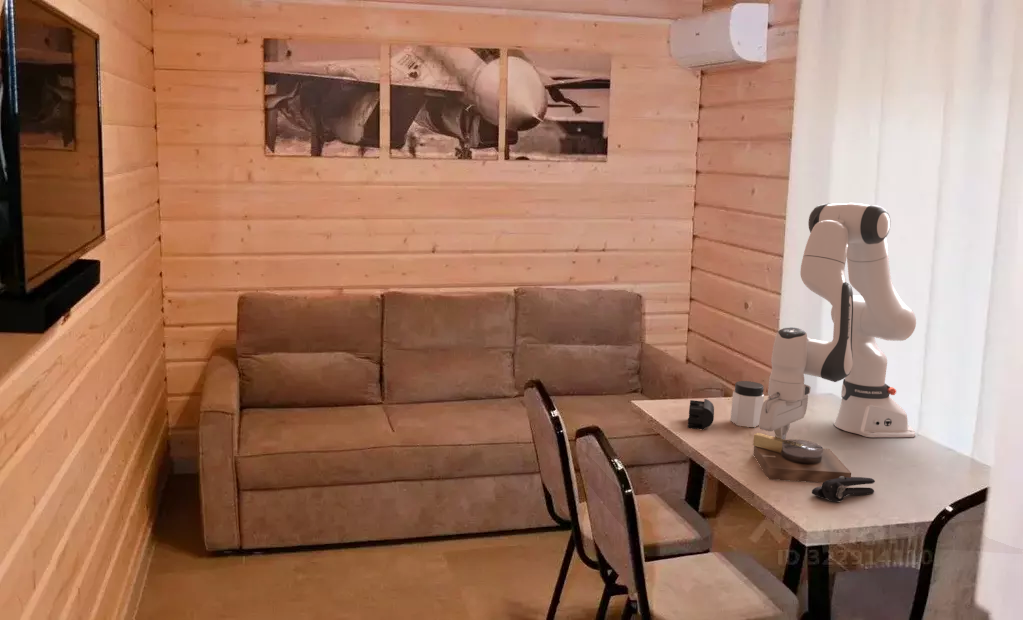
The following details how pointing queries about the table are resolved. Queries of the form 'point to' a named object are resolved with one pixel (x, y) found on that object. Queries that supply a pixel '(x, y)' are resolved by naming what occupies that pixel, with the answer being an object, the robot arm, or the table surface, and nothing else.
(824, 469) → the base
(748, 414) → the jar
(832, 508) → the table surface
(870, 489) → the can opener
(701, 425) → the end cap
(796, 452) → the small frying pan
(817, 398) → the table surface
